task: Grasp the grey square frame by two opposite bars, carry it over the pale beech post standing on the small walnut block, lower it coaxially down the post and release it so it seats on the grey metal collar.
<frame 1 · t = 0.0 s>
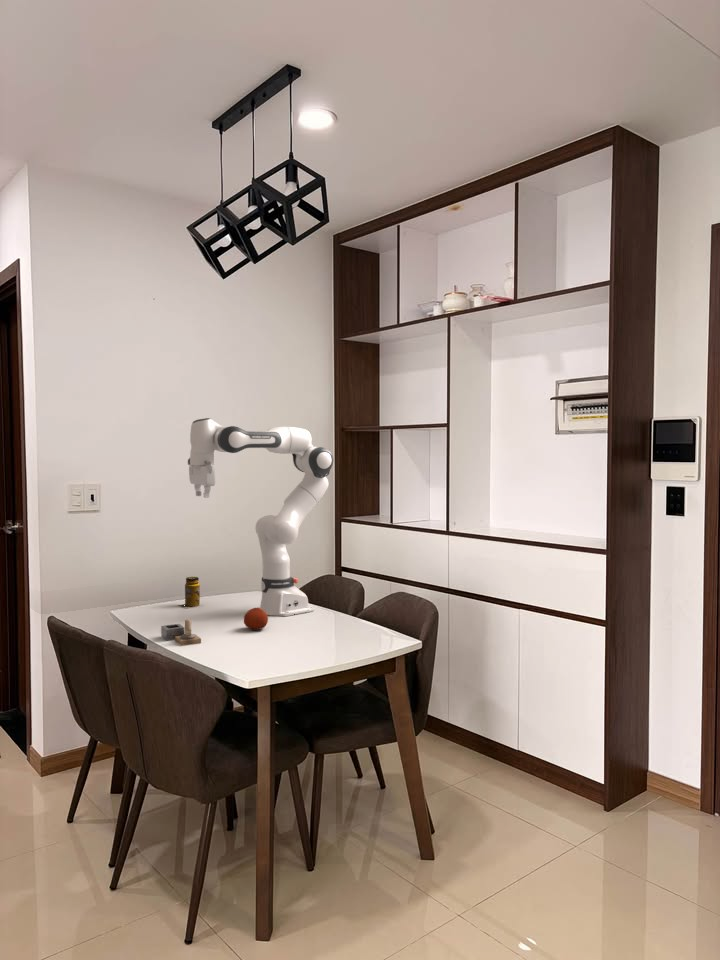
hand: (202, 496, 282), 48 cm above the table, fingers open, 8 cm apart
fruit: (255, 629, 272), on the table
post block: (188, 641, 254), on the table
grey square frame: (172, 637, 260), on the table
condiment: (190, 606, 311), on the table
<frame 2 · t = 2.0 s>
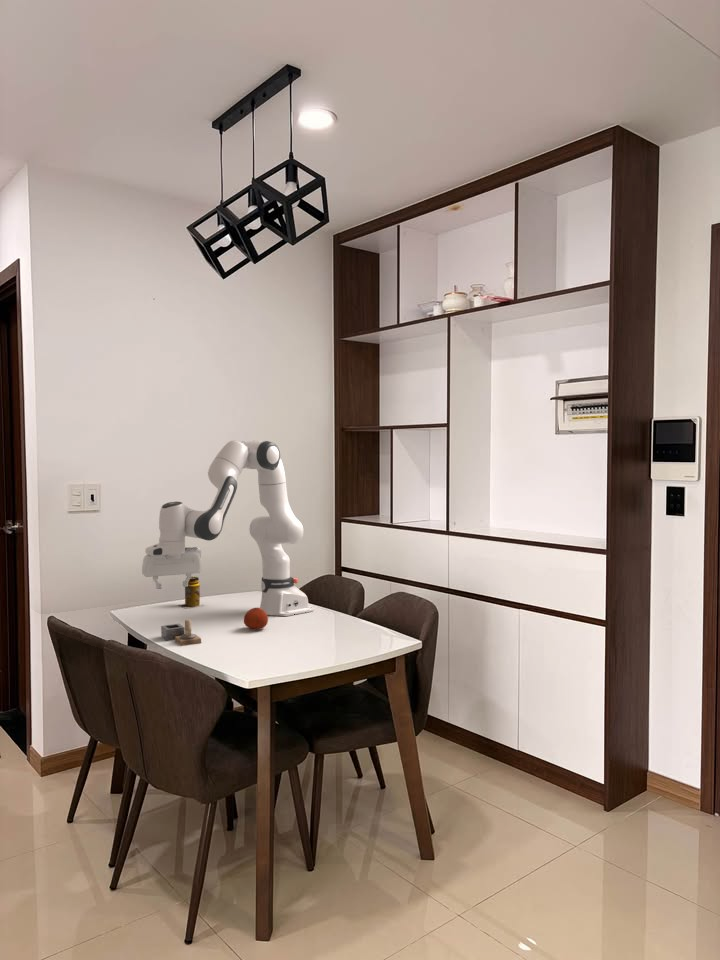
hand: (172, 587, 259), 18 cm above the table, fingers open, 8 cm apart
nothing on the table moved.
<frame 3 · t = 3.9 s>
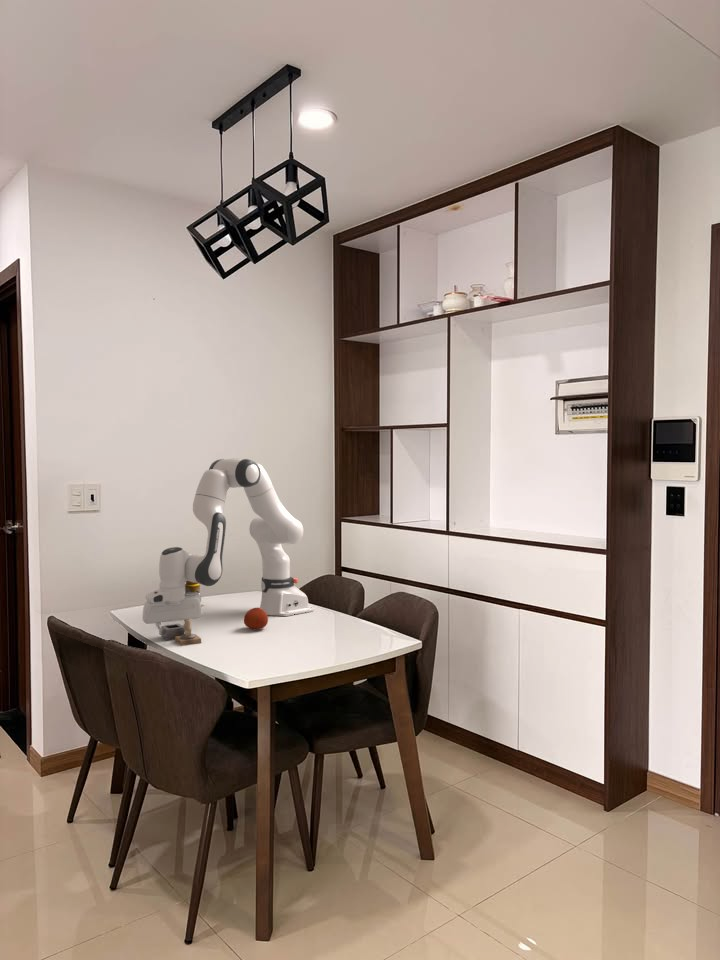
hand: (172, 633, 260), 2 cm above the table, fingers closed on grey square frame, 6 cm apart
grey square frame: (172, 637, 260), on the table, touching gripper
everything else where it was.
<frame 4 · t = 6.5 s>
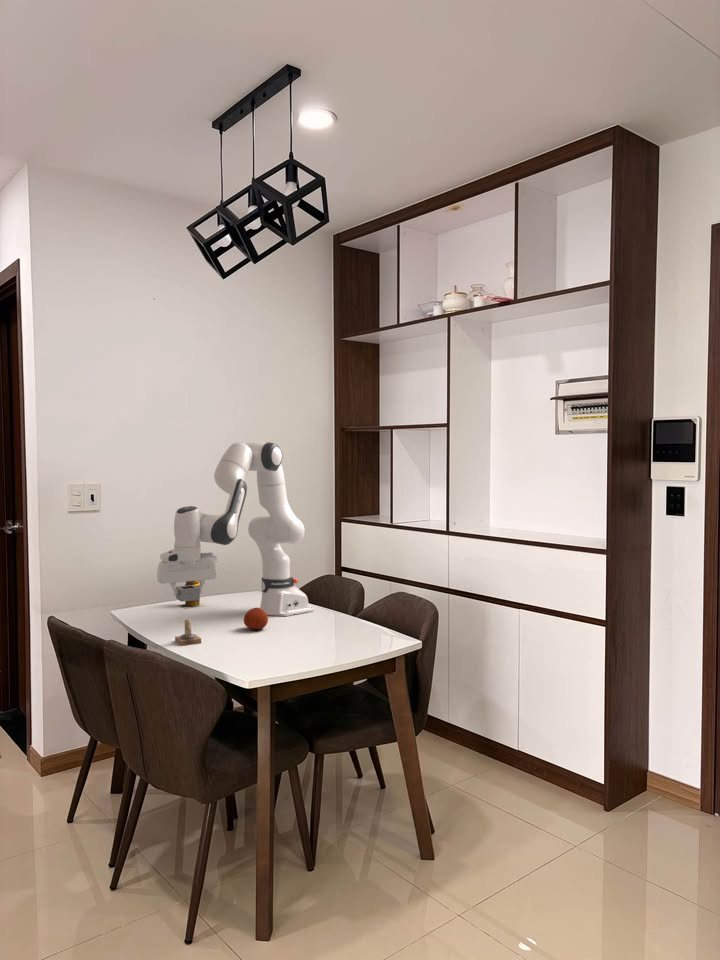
hand: (187, 594, 253), 17 cm above the table, fingers closed on grey square frame, 6 cm apart
grey square frame: (187, 598, 254), point 15 cm above the table, touching gripper
everything else where it was.
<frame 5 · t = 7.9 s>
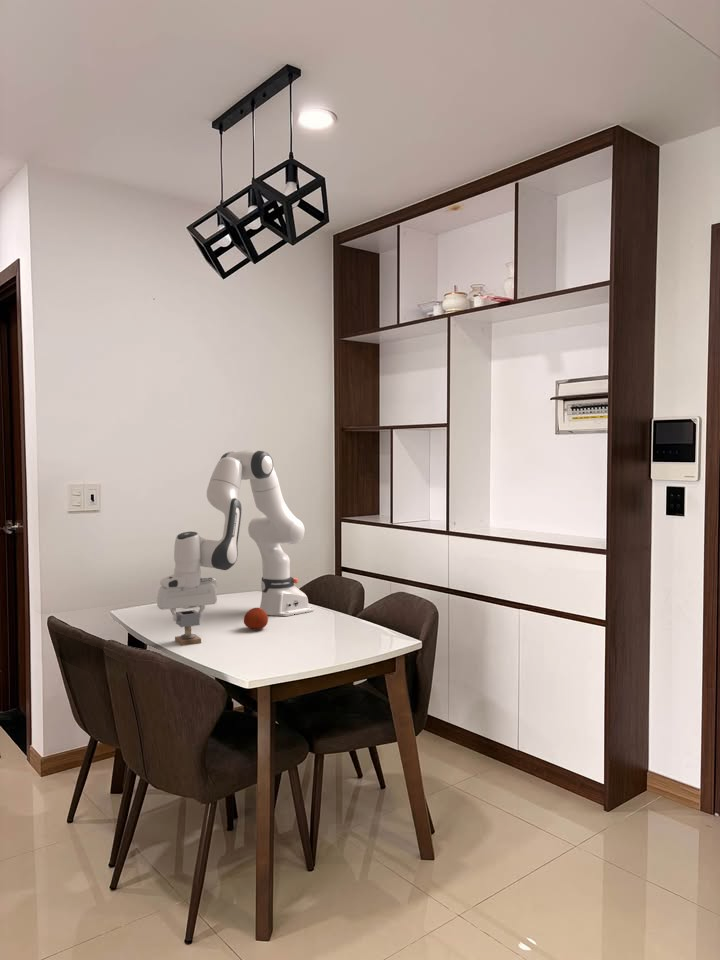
hand: (187, 619, 254), 8 cm above the table, fingers closed on grey square frame, 6 cm apart
grey square frame: (187, 624, 254), point 6 cm above the table, touching gripper
everything else where it was.
when the fingers open (6 cm above the table, at t = 8.9 s): grey square frame drops 2 cm, resting on post block.
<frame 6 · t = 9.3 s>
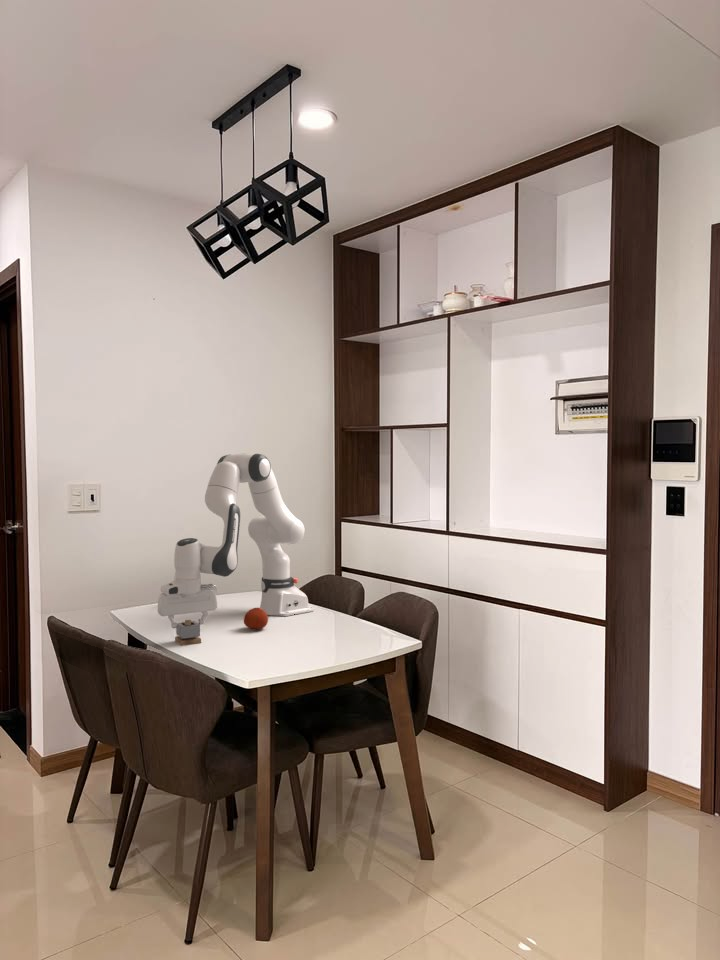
hand: (188, 625, 254), 6 cm above the table, fingers open, 8 cm apart
grey square frame: (188, 635, 254), point 2 cm above the table, touching post block
everything else where it was.
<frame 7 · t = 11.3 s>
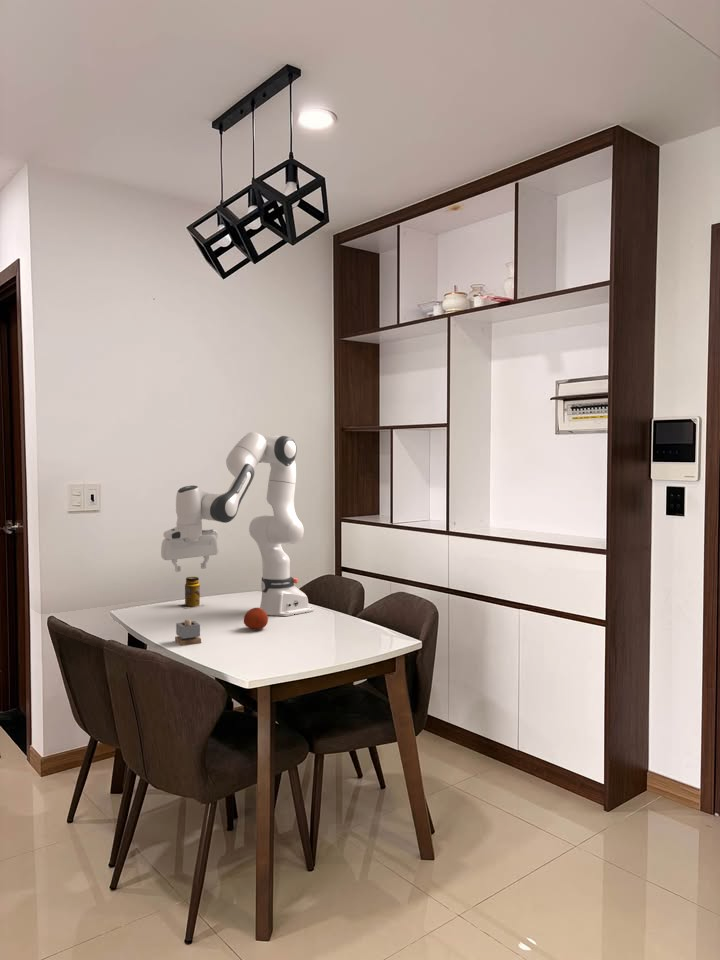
hand: (190, 569, 264), 23 cm above the table, fingers open, 8 cm apart
nothing on the table moved.
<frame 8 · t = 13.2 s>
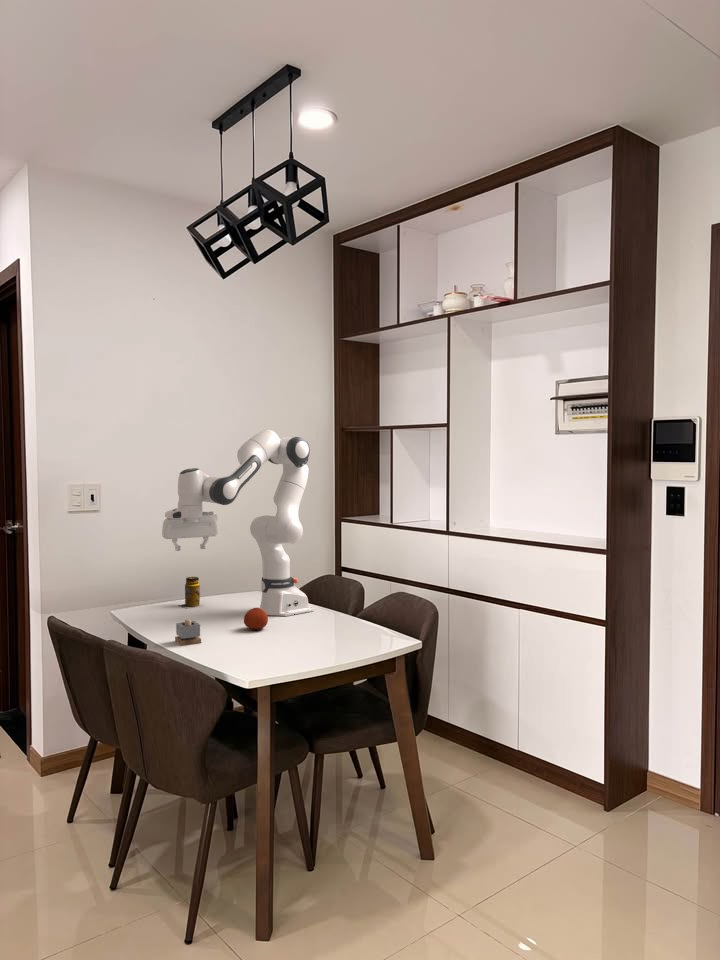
hand: (190, 549, 273), 29 cm above the table, fingers open, 8 cm apart
nothing on the table moved.
at the end: grey square frame 0.0 cm off-centre on the post block, point 2.3 cm above the post block's base; grey square frame tilted 0°; the gripper is holding nothing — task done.
